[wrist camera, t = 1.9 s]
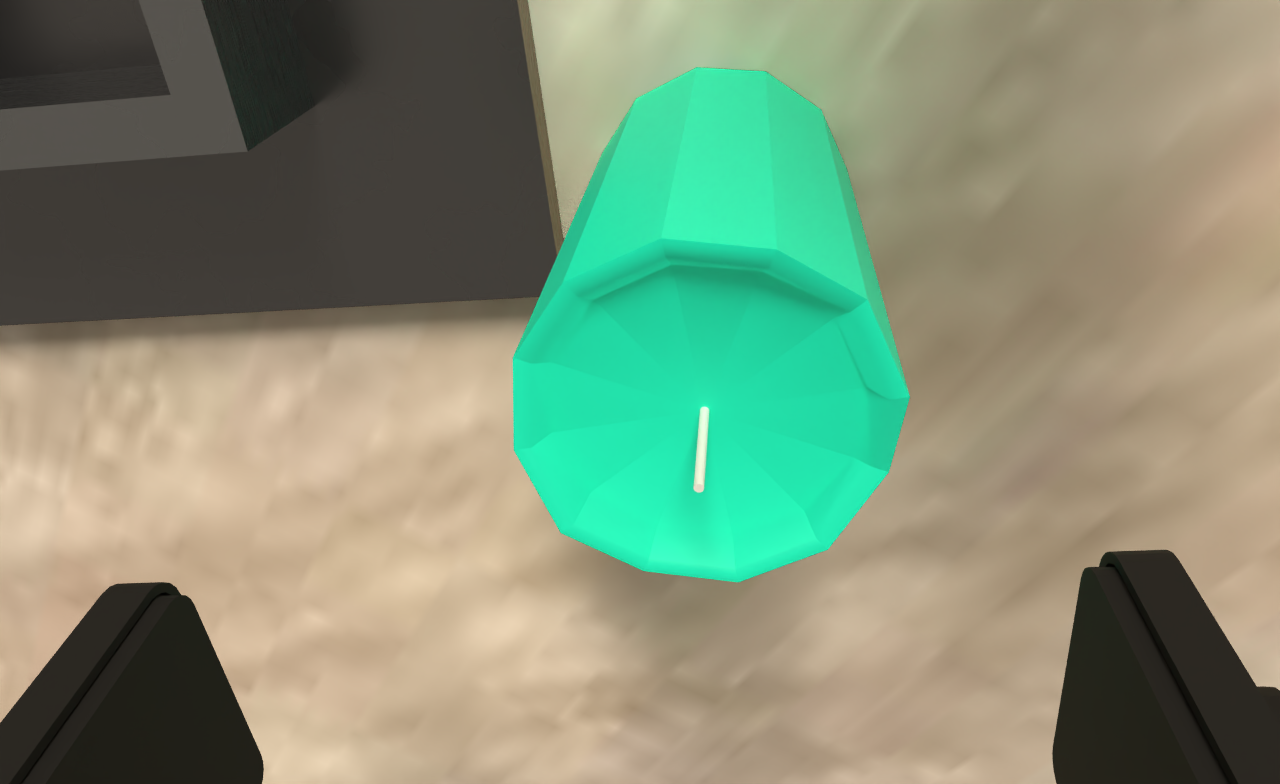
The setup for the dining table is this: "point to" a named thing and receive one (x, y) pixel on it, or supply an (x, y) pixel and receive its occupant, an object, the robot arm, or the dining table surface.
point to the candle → (711, 340)
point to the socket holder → (269, 156)
